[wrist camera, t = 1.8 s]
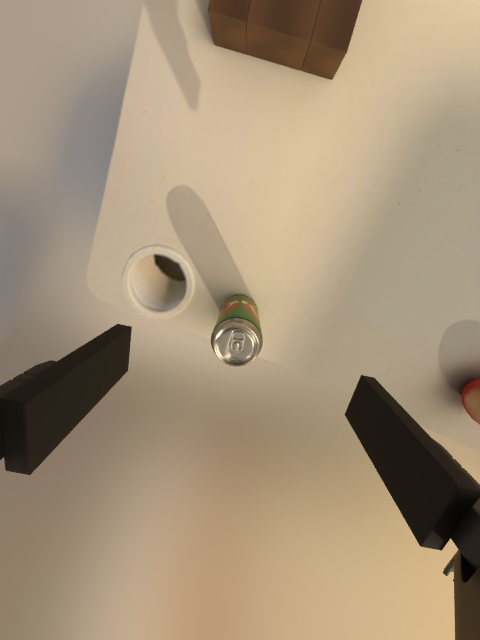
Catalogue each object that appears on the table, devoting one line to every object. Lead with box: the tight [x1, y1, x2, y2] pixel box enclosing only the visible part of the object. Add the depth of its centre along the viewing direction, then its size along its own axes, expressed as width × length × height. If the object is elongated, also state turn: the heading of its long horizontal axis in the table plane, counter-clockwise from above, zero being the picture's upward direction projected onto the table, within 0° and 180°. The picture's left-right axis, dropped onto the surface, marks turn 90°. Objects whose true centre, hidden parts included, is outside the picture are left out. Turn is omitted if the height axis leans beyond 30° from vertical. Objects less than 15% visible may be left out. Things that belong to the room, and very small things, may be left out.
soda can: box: [211, 295, 263, 366], centre depth 28 cm, size 5×5×12 cm
